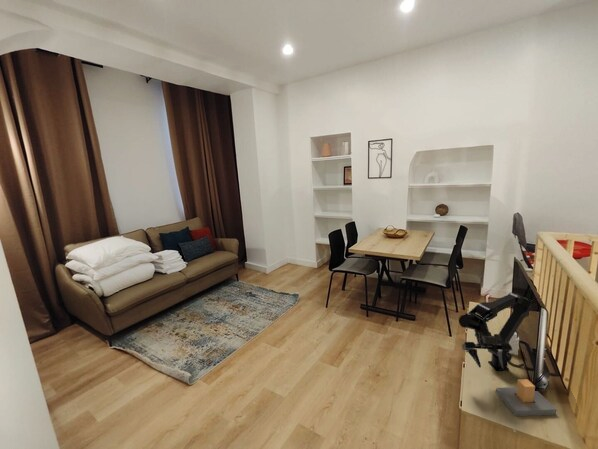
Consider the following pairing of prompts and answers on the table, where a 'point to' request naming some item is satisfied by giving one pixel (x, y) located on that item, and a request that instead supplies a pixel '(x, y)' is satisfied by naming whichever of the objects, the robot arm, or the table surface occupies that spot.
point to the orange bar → (525, 391)
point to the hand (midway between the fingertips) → (491, 368)
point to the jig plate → (525, 409)
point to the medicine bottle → (514, 343)
